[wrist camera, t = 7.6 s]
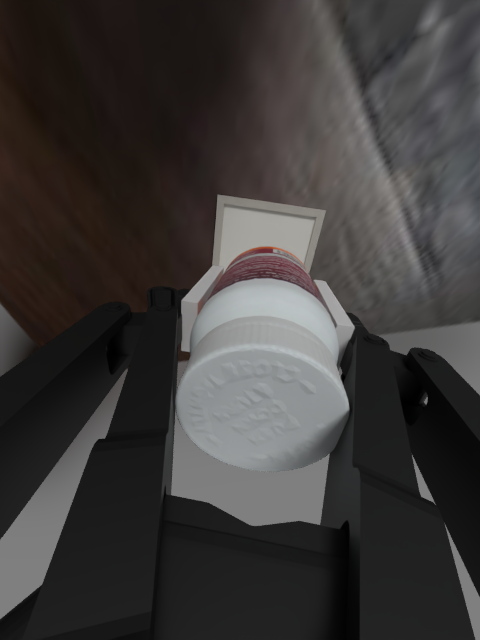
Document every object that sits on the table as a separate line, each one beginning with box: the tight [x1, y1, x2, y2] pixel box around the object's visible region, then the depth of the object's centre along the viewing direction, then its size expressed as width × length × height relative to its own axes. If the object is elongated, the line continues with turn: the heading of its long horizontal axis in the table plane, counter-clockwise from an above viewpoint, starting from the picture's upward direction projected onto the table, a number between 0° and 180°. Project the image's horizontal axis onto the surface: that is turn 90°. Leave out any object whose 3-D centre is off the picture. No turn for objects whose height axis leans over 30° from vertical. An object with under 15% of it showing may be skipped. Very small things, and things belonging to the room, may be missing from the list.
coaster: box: [212, 195, 326, 274], centre depth 30 cm, size 12×12×1 cm
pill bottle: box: [175, 246, 350, 472], centre depth 12 cm, size 6×6×11 cm
